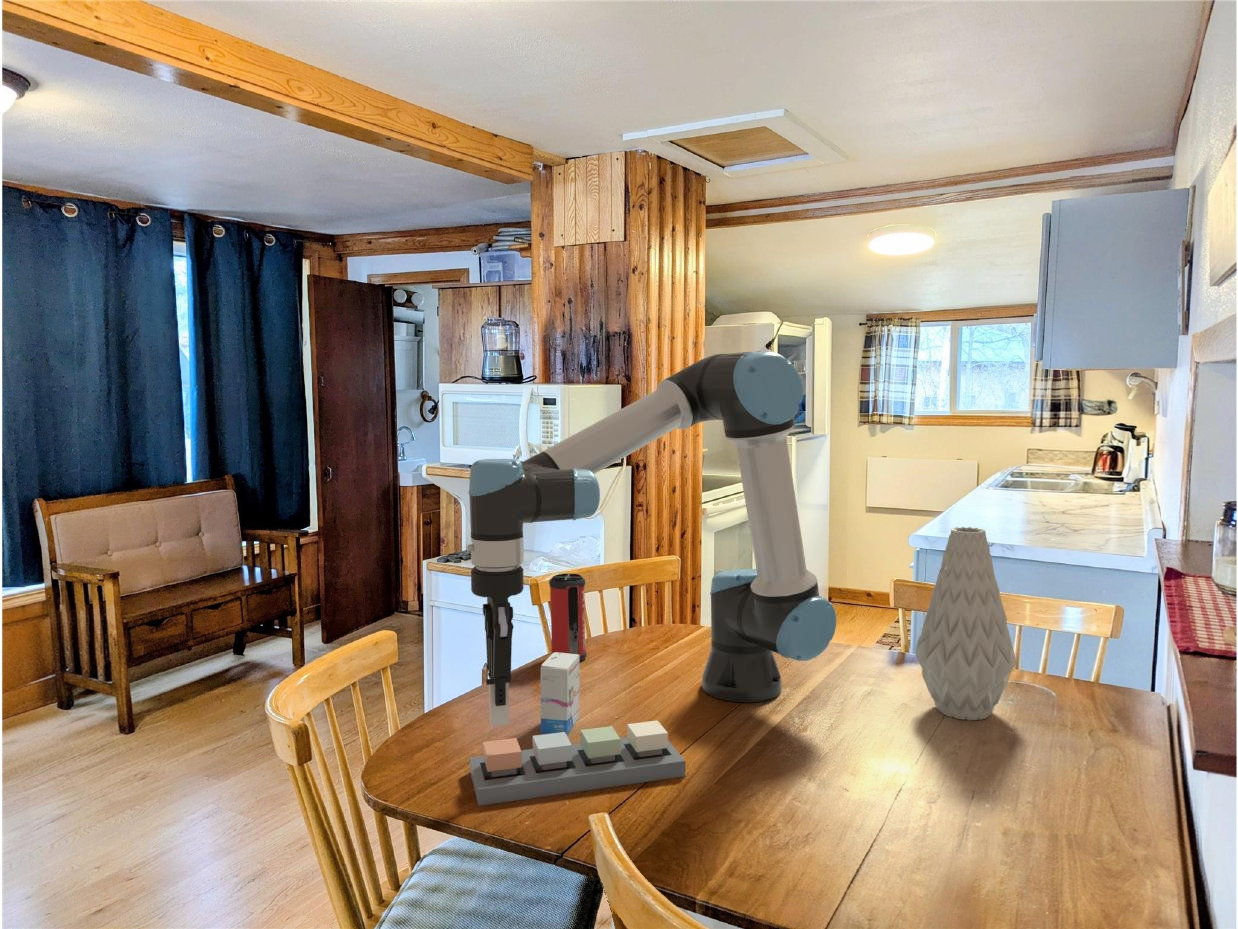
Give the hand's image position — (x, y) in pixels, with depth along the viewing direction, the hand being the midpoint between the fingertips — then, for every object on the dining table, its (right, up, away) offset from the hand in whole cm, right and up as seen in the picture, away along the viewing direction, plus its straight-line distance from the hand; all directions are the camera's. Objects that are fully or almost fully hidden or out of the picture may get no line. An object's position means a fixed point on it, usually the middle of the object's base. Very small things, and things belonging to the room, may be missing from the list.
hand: (499, 723), depth 127 cm
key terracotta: (0, -7, +1) cm, 7 cm away
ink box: (+7, -7, +23) cm, 25 cm away
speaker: (+7, -4, +59) cm, 59 cm away
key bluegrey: (+8, -7, +3) cm, 11 cm away
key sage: (+15, -7, +5) cm, 17 cm away
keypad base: (+11, -9, +4) cm, 15 cm away
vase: (+79, -6, +27) cm, 84 cm away
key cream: (+22, -6, +7) cm, 24 cm away
